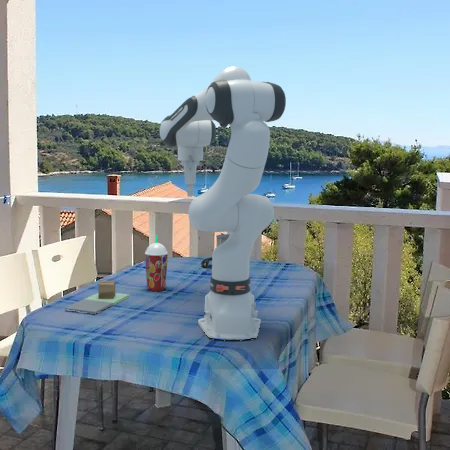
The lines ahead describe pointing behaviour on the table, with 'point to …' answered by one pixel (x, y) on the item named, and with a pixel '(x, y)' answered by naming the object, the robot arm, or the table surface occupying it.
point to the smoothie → (156, 266)
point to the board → (96, 303)
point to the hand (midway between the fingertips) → (189, 195)
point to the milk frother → (220, 240)
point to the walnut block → (106, 289)
